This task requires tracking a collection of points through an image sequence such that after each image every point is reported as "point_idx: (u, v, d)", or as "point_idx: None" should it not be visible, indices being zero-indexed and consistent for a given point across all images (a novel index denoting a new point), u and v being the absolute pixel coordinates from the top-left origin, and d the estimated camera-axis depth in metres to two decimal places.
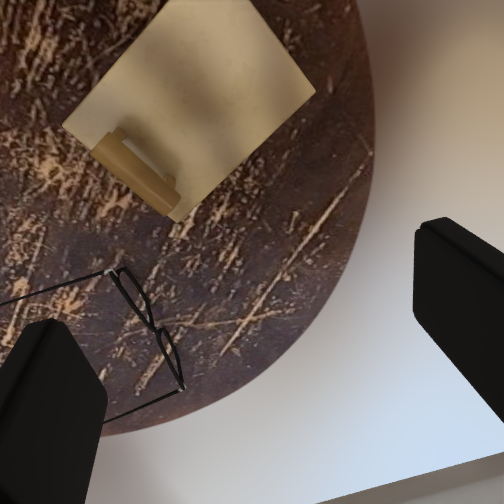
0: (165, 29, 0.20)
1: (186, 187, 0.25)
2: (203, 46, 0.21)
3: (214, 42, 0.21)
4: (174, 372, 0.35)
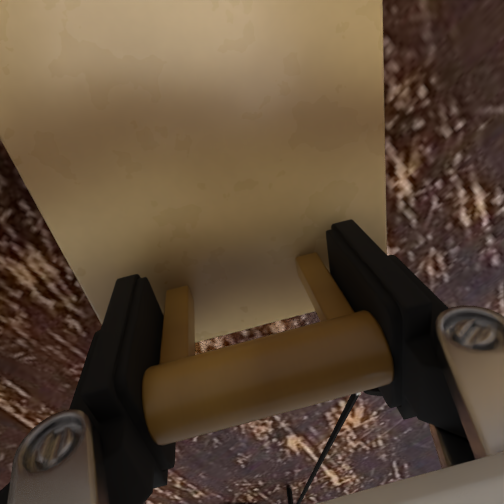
0: (13, 91, 0.08)
1: None
2: (82, 19, 0.07)
3: None
4: None
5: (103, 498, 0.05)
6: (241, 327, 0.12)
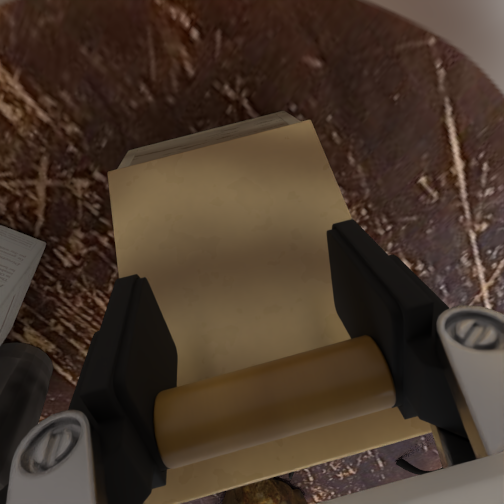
0: (136, 257, 0.14)
1: None
2: (181, 223, 0.14)
3: (185, 209, 0.15)
4: None
5: (102, 499, 0.05)
6: (277, 469, 0.11)
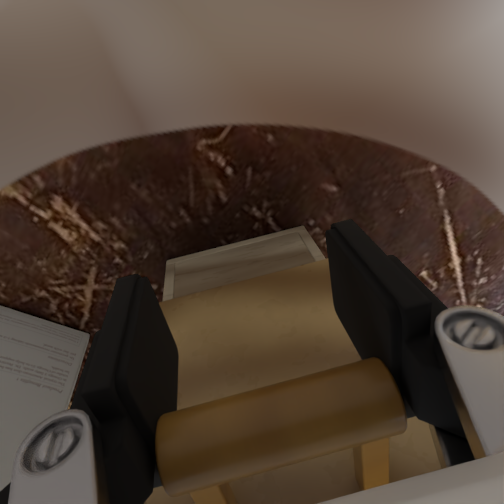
0: None
1: (405, 456, 0.10)
2: (214, 335, 0.16)
3: (219, 324, 0.16)
4: None
5: (104, 498, 0.05)
6: None
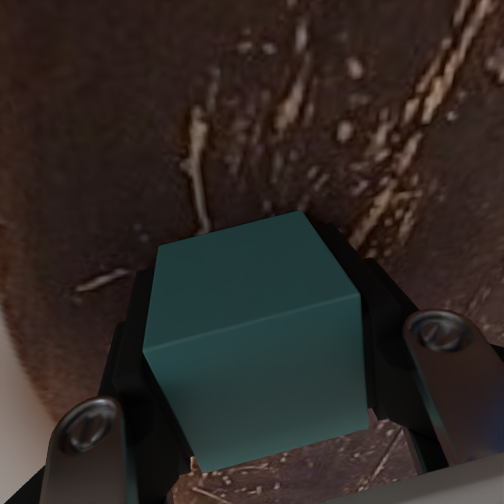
0: None
1: None
2: None
3: None
4: None
5: (133, 487, 0.05)
6: None
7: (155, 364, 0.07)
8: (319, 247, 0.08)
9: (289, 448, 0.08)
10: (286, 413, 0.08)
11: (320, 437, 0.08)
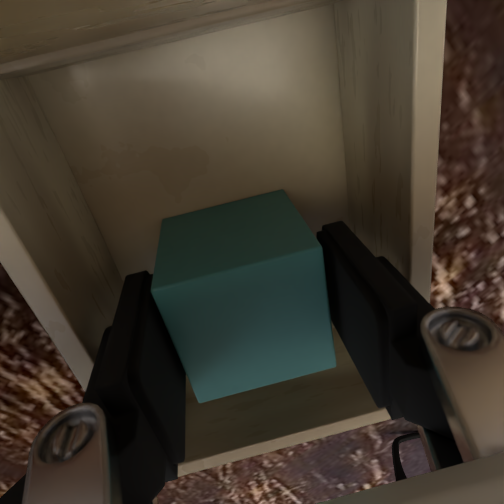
0: None
1: None
2: None
3: None
4: None
5: (116, 493, 0.05)
6: None
7: (160, 302, 0.08)
8: (294, 216, 0.10)
9: (270, 382, 0.10)
10: (267, 350, 0.09)
11: (296, 373, 0.10)
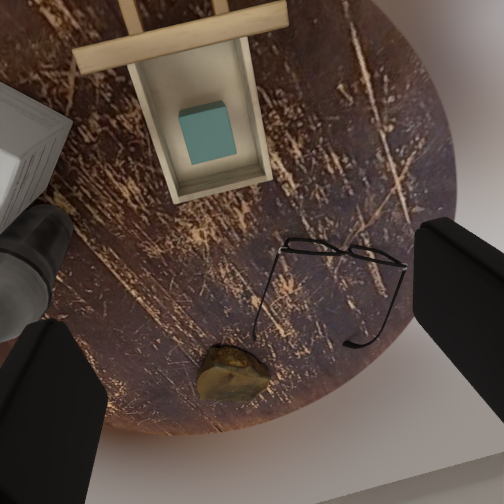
0: None
1: None
2: None
3: None
4: (385, 263, 0.40)
5: None
6: None
7: (180, 121, 0.29)
8: (222, 103, 0.31)
9: (215, 158, 0.31)
10: (213, 143, 0.31)
11: (223, 155, 0.31)
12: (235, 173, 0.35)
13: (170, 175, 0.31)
